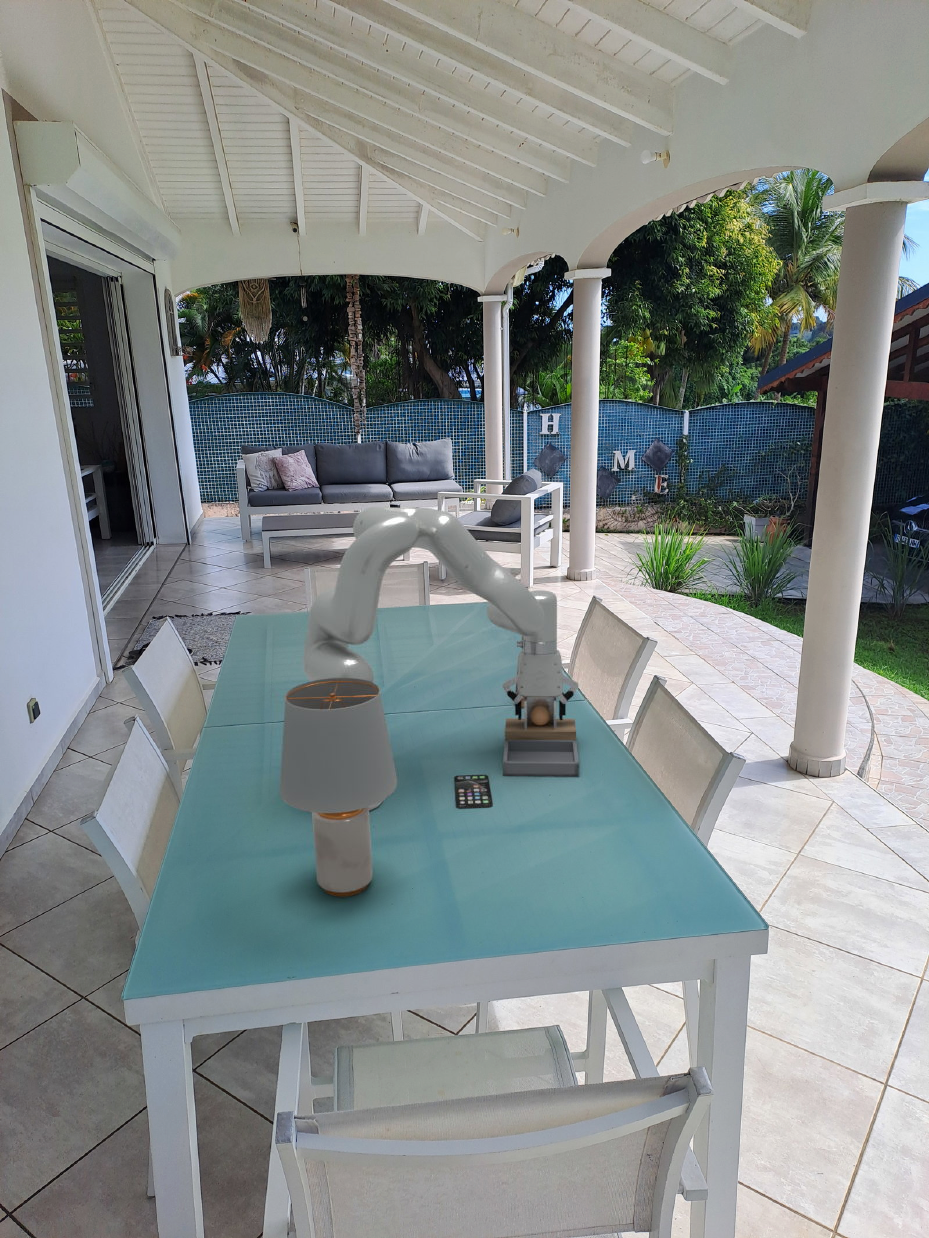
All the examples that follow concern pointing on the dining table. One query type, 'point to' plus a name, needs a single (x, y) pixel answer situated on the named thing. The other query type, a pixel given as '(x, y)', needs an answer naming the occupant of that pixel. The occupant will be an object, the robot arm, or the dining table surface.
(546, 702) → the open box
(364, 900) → the dining table surface
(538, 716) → the ball
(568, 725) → the ledge
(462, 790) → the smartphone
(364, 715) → the lamp
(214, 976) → the dining table surface
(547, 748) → the tray
